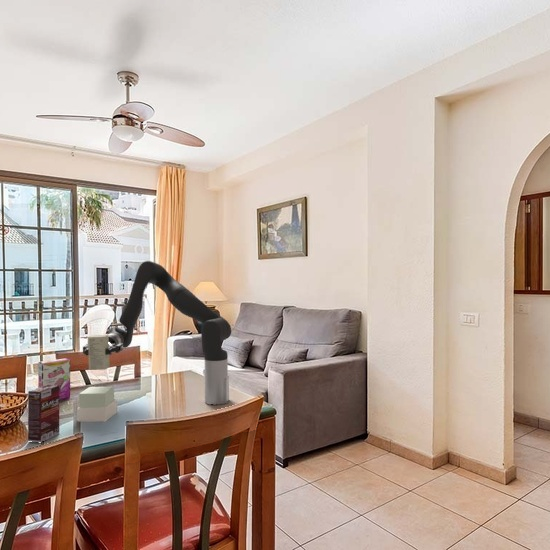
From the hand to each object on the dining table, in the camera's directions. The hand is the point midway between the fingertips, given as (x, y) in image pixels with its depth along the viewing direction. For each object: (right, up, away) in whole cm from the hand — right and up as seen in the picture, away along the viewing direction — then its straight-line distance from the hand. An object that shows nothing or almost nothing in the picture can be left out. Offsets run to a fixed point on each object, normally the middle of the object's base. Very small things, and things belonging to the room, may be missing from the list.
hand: (96, 352), depth 151 cm
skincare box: (0, -7, +2) cm, 7 cm away
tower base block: (0, -24, +2) cm, 24 cm away
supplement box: (-9, -24, -18) cm, 31 cm away
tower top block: (-1, -19, +2) cm, 19 cm away
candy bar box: (-27, -24, +23) cm, 43 cm away
